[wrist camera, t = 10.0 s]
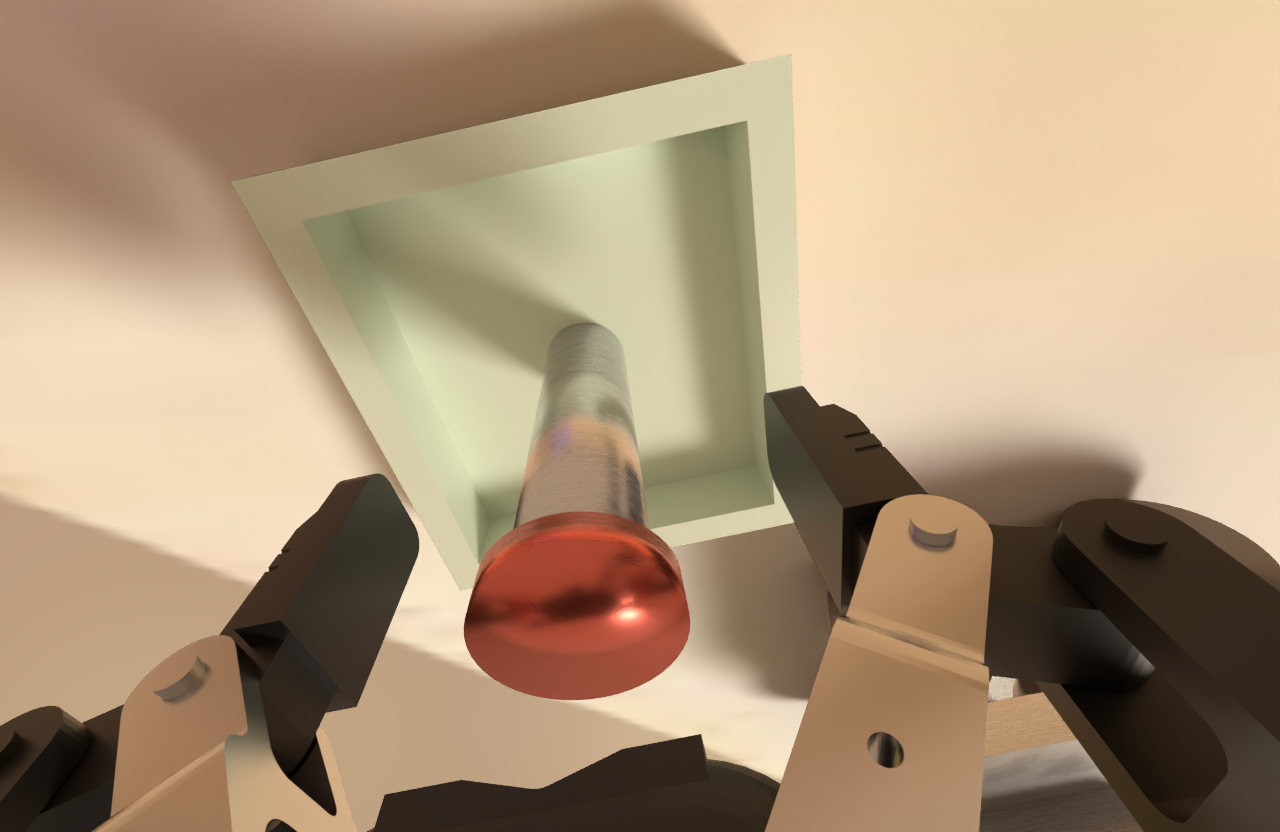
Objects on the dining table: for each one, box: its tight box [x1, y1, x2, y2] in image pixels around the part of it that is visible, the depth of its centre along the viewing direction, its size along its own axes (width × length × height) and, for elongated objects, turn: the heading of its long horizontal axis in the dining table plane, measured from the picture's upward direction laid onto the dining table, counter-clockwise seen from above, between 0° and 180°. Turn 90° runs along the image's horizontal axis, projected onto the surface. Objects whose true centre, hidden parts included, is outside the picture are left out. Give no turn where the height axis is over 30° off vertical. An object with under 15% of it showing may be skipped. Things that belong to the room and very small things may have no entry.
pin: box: [464, 323, 690, 700], centre depth 11 cm, size 3×3×10 cm
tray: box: [231, 54, 801, 590], centre depth 15 cm, size 13×12×3 cm
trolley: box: [828, 500, 1280, 832], centre depth 21 cm, size 12×16×10 cm
